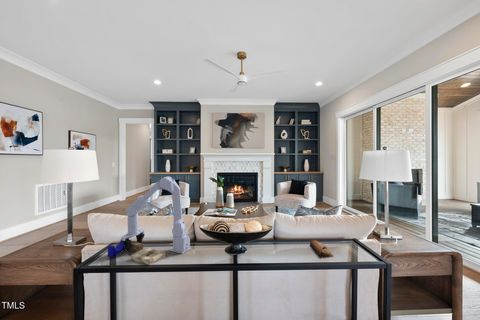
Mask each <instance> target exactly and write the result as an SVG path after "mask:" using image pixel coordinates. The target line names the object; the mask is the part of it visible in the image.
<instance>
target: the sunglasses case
mask: <svg viewBox="0 0 480 320" xmlns="http://www.w3.org/2000/svg"><path fill="white" fill-rule="evenodd" d="M309 244H310V246H311V247H312V248H313V249H314V250H315V252H316V254H318V255H319V257H320V258H334V254H333V253H332V252H331V251H330V250H329V248H328V246H326V245H325V244H324V243H322V242H320V241H318V240H315V239H312V240H310V241H309Z"/></svg>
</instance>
